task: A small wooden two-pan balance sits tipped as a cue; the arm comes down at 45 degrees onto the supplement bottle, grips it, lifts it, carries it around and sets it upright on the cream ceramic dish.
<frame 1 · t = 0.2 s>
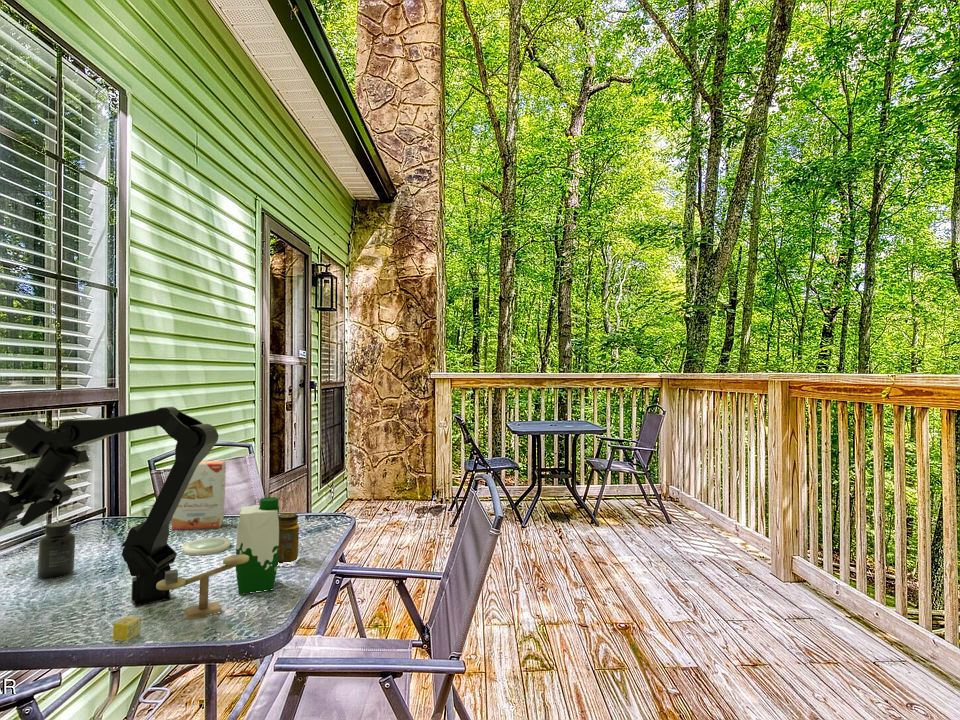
hand: (4, 531, 110), 15 cm above the table, tool tilted 35°, fingers open, 9 cm apart
dish: (206, 548, 146), on the table
cracker box: (198, 527, 167), on the table
milk carton: (256, 588, 119), on the table
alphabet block: (126, 637, 96), on the table
balance: (203, 612, 106), on the table
condiment: (284, 562, 136), on the table
supplement bottle: (55, 574, 125), on the table
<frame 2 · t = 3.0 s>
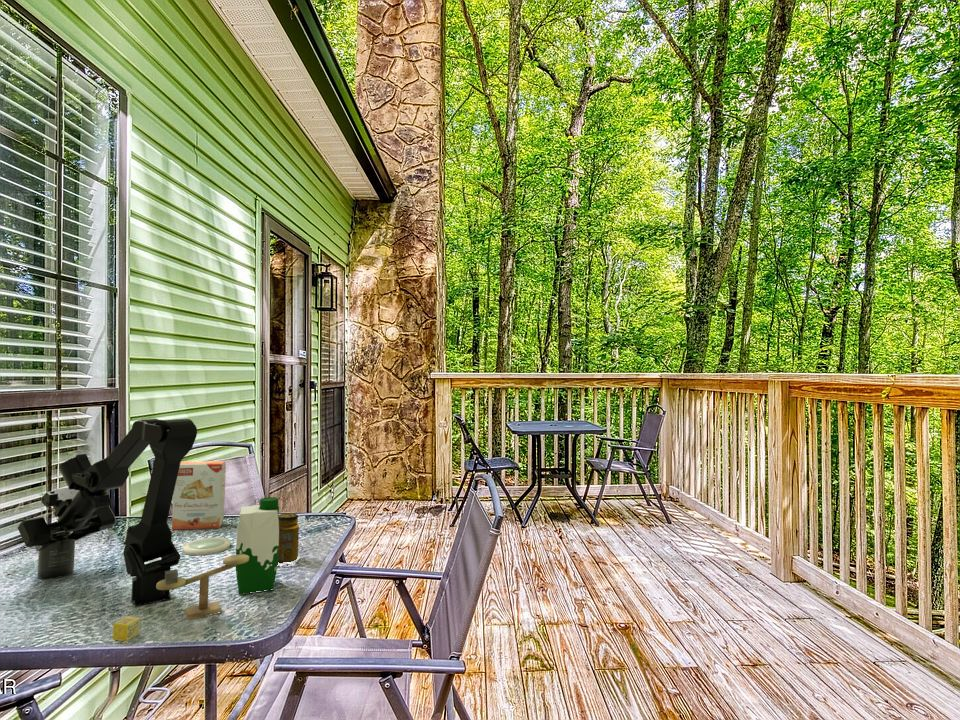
hand: (53, 545, 126), 7 cm above the table, tool tilted 45°, fingers closed on supplement bottle, 7 cm apart
supplement bottle: (55, 574, 125), on the table, touching gripper
everything else where it was.
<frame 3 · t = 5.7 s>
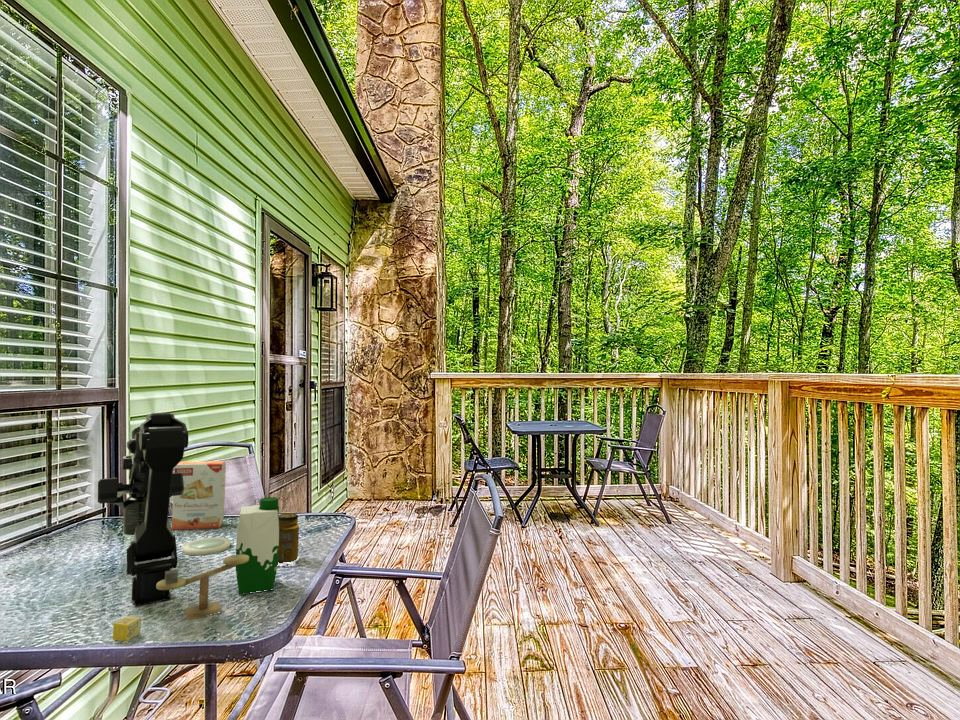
hand: (138, 505, 140), 13 cm above the table, tool tilted 45°, fingers closed on supplement bottle, 7 cm apart
supplement bottle: (138, 532, 138), point 6 cm above the table, touching gripper
everything else where it was.
when the fingers open (9 cm above the table, at t = 8.0 s): supplement bottle drops 1 cm, resting on dish.
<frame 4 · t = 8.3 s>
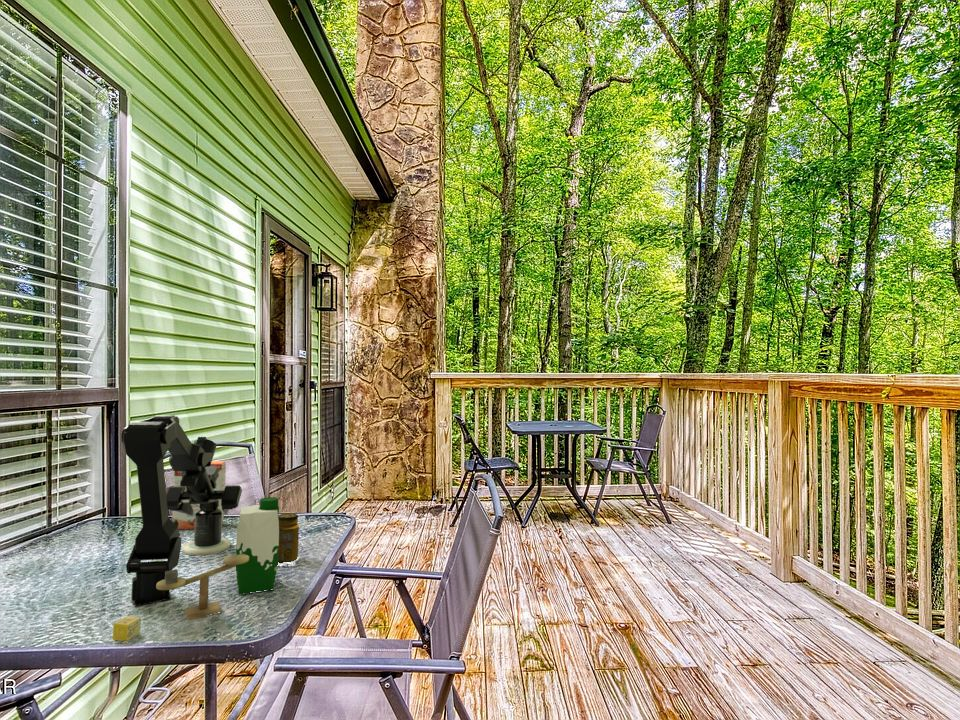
hand: (209, 513, 148), 9 cm above the table, tool tilted 45°, fingers open, 9 cm apart
supplement bottle: (207, 544, 146), point 1 cm above the table, touching dish
everything else where it was.
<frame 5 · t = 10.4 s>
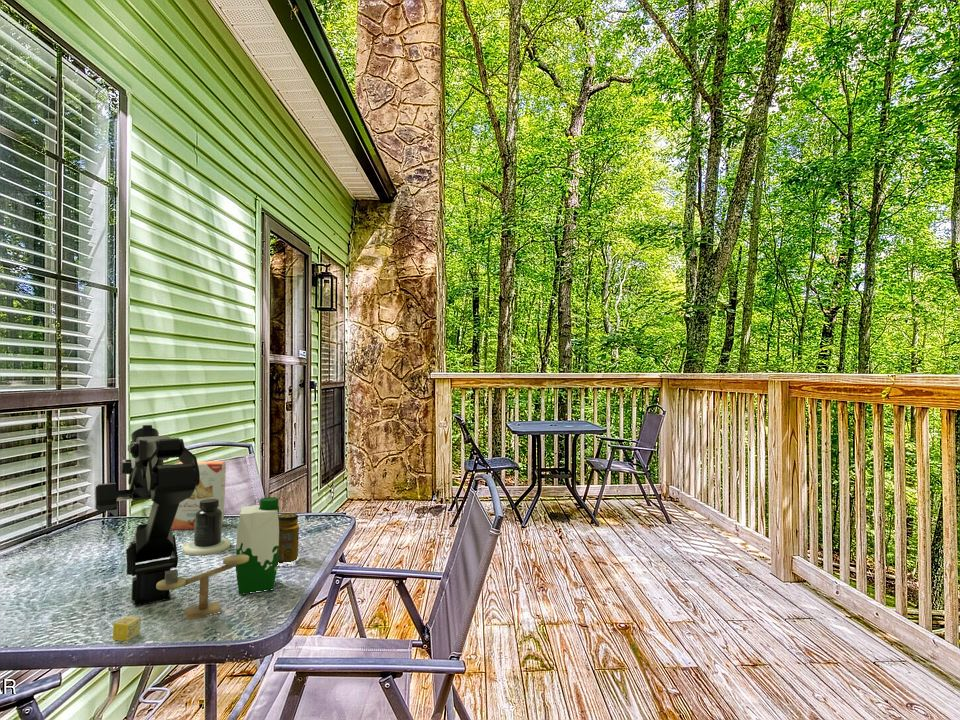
hand: (137, 511, 132), 14 cm above the table, tool tilted 45°, fingers open, 9 cm apart
nothing on the table moved.
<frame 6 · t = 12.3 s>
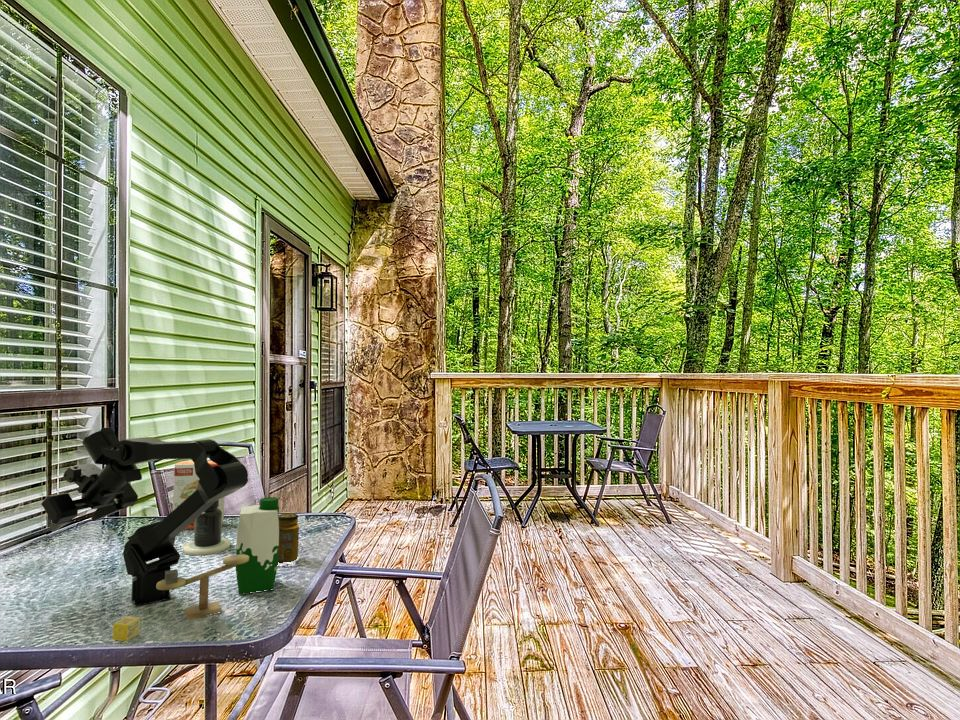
hand: (72, 524, 120), 14 cm above the table, tool tilted 45°, fingers open, 9 cm apart
nothing on the table moved.
at the end: supplement bottle inside the target area on the dish (0.2 cm from its centre), point 1.2 cm above the dish's base; supplement bottle tilted 0°; the gripper is holding nothing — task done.
